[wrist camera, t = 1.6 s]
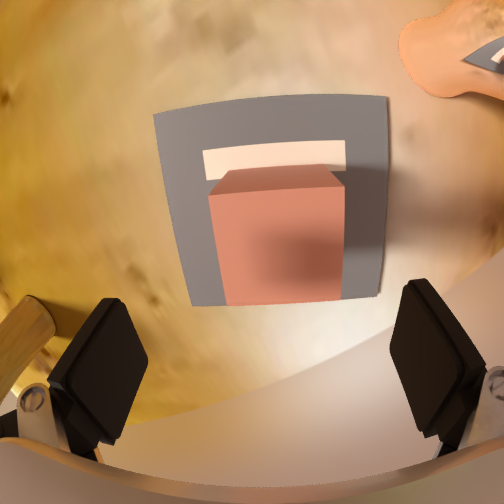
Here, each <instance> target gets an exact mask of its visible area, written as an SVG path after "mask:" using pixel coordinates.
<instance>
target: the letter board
mask: <svg viewBox="0 0 504 504" xmlns="http://www.w3.org/2000/svg"><path fill="white" fill-rule="evenodd" d="M153 117H154V124H155V131H156V138H157V144H158V150H159V157H160V162H161V168H162V174H163V179H164V185H165V190H166V195H167V201H168V206H169V210H170V215H171V220H172V225H173V229H174V234H175V239H176V243H177V247H178V252H179V256H180V260H181V264H182V269H183V273H184V277H185V281H186V285H187V289H188V292H189V296H190V300H191V304H192V306H227V303H226V298H225V293H224V287H223V282H222V276H221V271H220V265H219V260H218V254H217V248H216V242H215V236H214V230H213V224H212V218H211V212H210V206H209V199H208V195H209V194H210V192H211V191H212V190H213V189H214V187H215V186H216V185H217V184H218V182H219V181H220V180H221V179H222V178H223V176H224V175H225V174H226V173H227V171H228V170H237V169H248V168H260V167H273V166H288V165H306V164H324V165H325V166H326V167H327V169H328V170H329V171H330V172H331V173H332V174H333V175H334V176H335V177H336V178H337V179H338V180H339V181H340V182H341V183H342V184H343V185H344V186H345V219H344V252H343V271H342V287H341V300H343V299H355V298H366V297H376V296H377V294H378V288H379V281H380V273H381V266H382V257H383V248H384V238H385V227H386V213H387V194H388V123H387V105H386V96H372V95H351V94H304V95H283V96H268V97H257V98H247V99H238V100H230V101H223V102H216V103H209V104H203V105H197V106H192V107H186V108H181V109H176V110H171V111H167V112H162V113H158V114H153Z"/></svg>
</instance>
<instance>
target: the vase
mask: <svg viewBox="0 0 504 504" xmlns="http://www.w3.org/2000/svg"><path fill="white" fill-rule="evenodd" d="M55 332H56V326H55V323H54V320H53V318H52V316H51V314H50V313H49V311H48V310H47V309H46V308H45V306H44V305H43V304H41V303H40V302H39V301H38V300H37V299H35V298H33V297H31V296H24V297H22V299H21V300H20V302H19V303H18V304H17V306H16V307H15V308H14V309H13V310H12V311H11V312H10V313H9V314H8V315H7V316H6V317H5V319H4V320H3V321H2V322H1V323H0V405H1V403H2V401H3V400H4V398H5V397H6V395H7V394H8V392H9V391H10V389H11V388H12V386H13V385H14V383H15V382H16V380H17V379H18V377H19V376H20V374H21V373H22V372H23V371H24V370H25V368H26V367H27V366H28V365H29V363H30V362H31V361H32V360H33V359H34V357H35V356H36V355H37V354H38V353H39V351H40V350H41V349H42V348H43V347H44V345H45V344H46V343H47V342H48V341H49V339H50V338H51V337H53V335H54V334H55Z"/></svg>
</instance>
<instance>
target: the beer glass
mask: <svg viewBox="0 0 504 504" xmlns="http://www.w3.org/2000/svg"><path fill="white" fill-rule="evenodd" d="M398 49H399V55H400V58H401V61H402V64H403V66H404V68H405V70H406V71H407V73H408V75H409V76H410V77H411V79H412V80H413V81H414V82H415V83H416V84H417V85H418V86H419V87H420V88H422V89H423V90H424V91H426V92H428V93H429V94H432V95H434V96H437V97H443V98H448V97H454V96H457V95H460V94H463V93H466V92H478V93H482V94H486V95H489V96H492V97H495V98H497V99H500V100H503V101H504V0H453V1H452V2H451V3H450V4H449V6H448V7H447V8H445V9H444V10H443V11H442V12H441V13H440V14H438V15H436V16H433V17H428V18H421V19H416V20H414V21H411V22H409V23H408V24H407V25H406V26H405V27H404V28H403V29H402V31H401V33H400V36H399V40H398Z"/></svg>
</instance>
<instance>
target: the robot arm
mask: <svg viewBox="0 0 504 504" xmlns="http://www.w3.org/2000/svg"><path fill="white" fill-rule="evenodd" d="M390 354H391V357H392V359H393V362H394V364H395V367H396V370H397V372H398V375H399V378H400V380H401V383H402V385H403V388H404V391H405V393H406V397H407V399H408V402H409V405H410V407H411V411H412V414H413V416H414V419H415V423H416V426H417V428H418V430H419V431H420V432H421V431H423V434H424V437H425V438H428V437H431V436H434V435H437V434H438V436H439V440H440V443H439V445H438V447H437V450H436V452H435V454H434V456H433V458H432V460H429V461H426V462H423V463H420V464H417V465H413V466H410V467H406V468H402V469H398V470H395V471H391V472H387V473H383V474H378V475H374V476H369V477H365V478H359V479H353V480H348V481H341V482H335V483H326V484H318V485H306V486H292V487H262V488H261V487H257V488H256V487H229V486H215V485H204V484H196V483H188V482H181V481H174V480H168V479H163V478H157V477H153V476H148V475H143V474H139V473H135V472H131V471H126V470H123V469H119V468H115V467H112V466H109V465H105V464H104V461H103V459H102V456H101V454H100V451H99V448H98V446H97V445H98V442H99V441H100V442H102V443H106V444H109V445H114V443H115V441H116V439H118V438H119V437H120V436H121V433H122V430H123V428H124V425H125V422H126V420H127V417H128V414H129V412H130V409H131V406H132V404H133V401H134V399H135V396H136V393H137V391H138V388H139V386H140V383H141V381H142V378H143V376H144V373H145V371H146V368H147V366H148V357H147V354H146V352H145V350H144V348H143V346H142V344H141V341H140V339H139V337H138V334H137V332H136V330H135V328H134V325H133V323H132V320H131V318H130V316H129V313H128V311H127V308H126V306H125V304H124V303H123V302H121V300H120V299H118V298H103V299H102V300H101V301H100V302H99V304H98V305H97V306H96V308H95V309H94V310H93V312H92V313H91V315H90V316H89V317H88V319H87V320H86V321H85V323H84V324H83V326H82V327H81V329H80V330H79V331H78V333H77V334H76V336H75V337H74V339H73V340H72V341H71V343H70V344H69V346H68V347H67V349H66V350H65V352H64V353H63V355H62V356H61V358H60V359H59V361H58V362H57V364H56V366H55V367H54V369H53V370H52V372H51V373H50V375H49V377H48V378H47V381H48V382H49V384H50V385H51V386H50V387H49V389H48V388H47V387H46V385H44V384H42V383H34V384H31V385H29V386H27V387H26V388H25V389H24V390H23V391H22V392H21V393H20V395H19V397H18V399H17V409H15V410H13V411H11V412H9V413H7V414H4V415H3V416H0V504H504V367H503V366H496V367H493V368H491V369H489V371H487V369H486V368H485V365H486V363H485V361H484V360H483V358H482V357H481V355H480V353H479V352H478V350H477V348H476V347H475V345H474V344H473V342H472V341H471V339H470V338H469V336H468V335H467V333H466V332H465V330H464V329H463V328H462V326H461V324H460V323H459V322H458V320H457V319H456V317H455V316H454V315H453V313H452V312H451V310H450V309H449V308H448V306H447V305H446V304H445V302H444V301H443V300H442V298H441V297H440V296H439V294H438V293H437V292H436V290H435V289H434V288H433V286H432V285H431V284H430V283H429V281H428V280H427V279H425V278H423V279H415V280H410V281H409V282H408V284H407V285H405V286H404V287H403V291H402V296H401V301H400V306H399V310H398V314H397V319H396V323H395V327H394V331H393V335H392V339H391V342H390Z"/></svg>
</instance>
